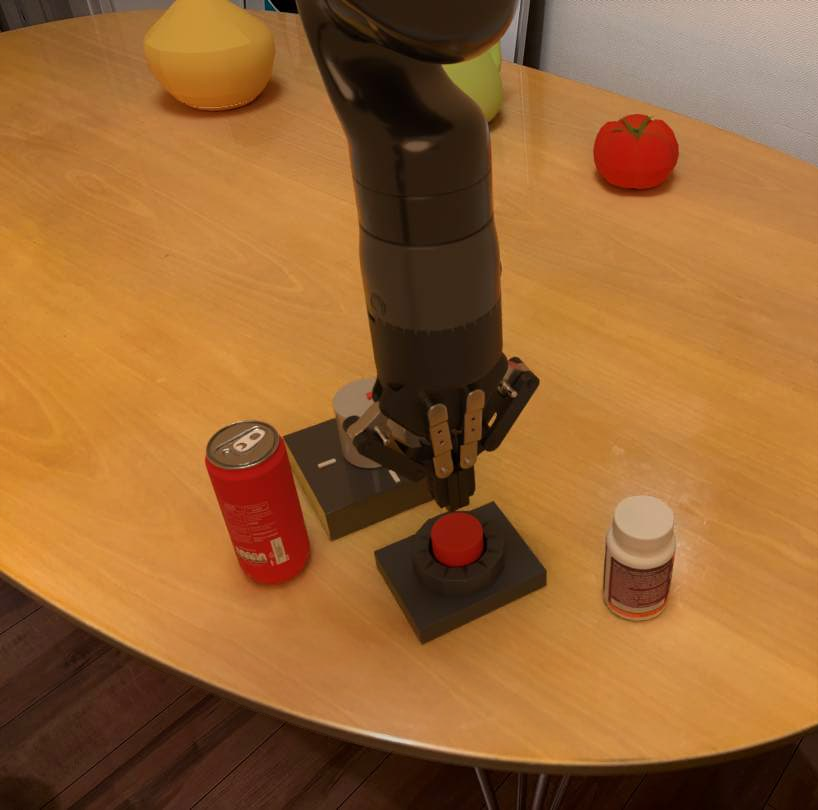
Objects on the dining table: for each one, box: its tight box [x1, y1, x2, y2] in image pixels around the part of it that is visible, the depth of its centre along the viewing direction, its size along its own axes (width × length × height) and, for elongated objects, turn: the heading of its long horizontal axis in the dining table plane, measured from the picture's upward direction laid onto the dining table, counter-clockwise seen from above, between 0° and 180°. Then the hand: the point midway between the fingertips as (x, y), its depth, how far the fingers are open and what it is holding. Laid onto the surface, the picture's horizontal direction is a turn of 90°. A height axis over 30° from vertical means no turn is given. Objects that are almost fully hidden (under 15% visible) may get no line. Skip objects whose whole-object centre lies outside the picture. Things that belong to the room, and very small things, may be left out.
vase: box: [142, 0, 277, 112], centre depth 128 cm, size 18×18×19 cm
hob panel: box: [282, 417, 434, 541], centre depth 72 cm, size 12×10×3 cm
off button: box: [431, 513, 483, 567], centre depth 62 cm, size 4×4×2 cm
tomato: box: [592, 113, 680, 190], centre depth 111 cm, size 11×11×8 cm
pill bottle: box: [602, 494, 677, 622], centre depth 61 cm, size 5×5×8 cm
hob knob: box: [332, 377, 407, 468], centre depth 69 cm, size 5×5×5 cm
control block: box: [373, 500, 548, 645], centre depth 64 cm, size 10×8×4 cm
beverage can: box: [204, 419, 311, 586], centre depth 62 cm, size 5×5×12 cm
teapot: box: [442, 39, 505, 123], centre depth 124 cm, size 22×15×13 cm
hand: (452, 501), depth 60 cm, fingers closed
